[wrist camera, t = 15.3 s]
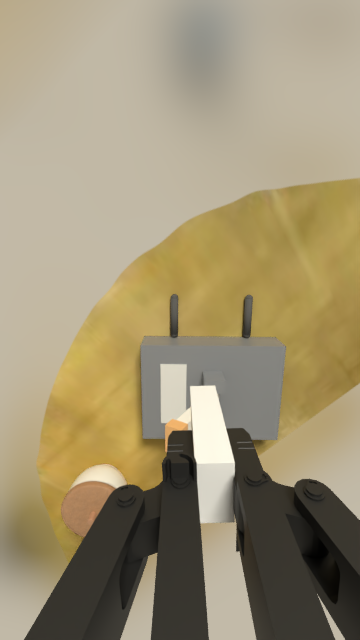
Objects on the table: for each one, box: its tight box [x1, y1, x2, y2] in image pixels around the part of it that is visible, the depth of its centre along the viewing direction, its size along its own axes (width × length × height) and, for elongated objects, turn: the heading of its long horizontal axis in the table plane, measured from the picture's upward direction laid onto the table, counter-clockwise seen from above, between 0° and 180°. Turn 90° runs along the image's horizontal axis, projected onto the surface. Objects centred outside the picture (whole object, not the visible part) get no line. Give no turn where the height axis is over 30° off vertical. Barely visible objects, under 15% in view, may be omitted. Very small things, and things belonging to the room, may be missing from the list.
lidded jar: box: [61, 464, 127, 537], centre depth 50 cm, size 11×11×9 cm
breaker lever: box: [165, 394, 219, 452], centre depth 39 cm, size 2×4×12 cm, turn 179°
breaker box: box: [141, 336, 286, 440], centre depth 46 cm, size 22×16×8 cm
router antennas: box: [171, 294, 253, 338], centre depth 47 cm, size 13×7×1 cm, turn 90°
